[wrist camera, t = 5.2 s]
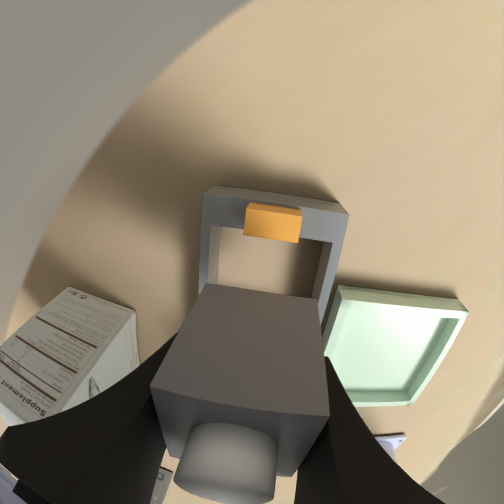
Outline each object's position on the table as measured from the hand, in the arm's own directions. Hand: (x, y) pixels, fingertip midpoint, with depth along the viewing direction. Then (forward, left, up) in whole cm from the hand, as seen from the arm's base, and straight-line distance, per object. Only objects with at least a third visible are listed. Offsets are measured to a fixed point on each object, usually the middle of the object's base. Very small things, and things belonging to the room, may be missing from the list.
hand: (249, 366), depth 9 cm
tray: (-6, -10, -8) cm, 14 cm away
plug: (0, 0, -2) cm, 2 cm away
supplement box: (-9, +13, -8) cm, 18 cm away
